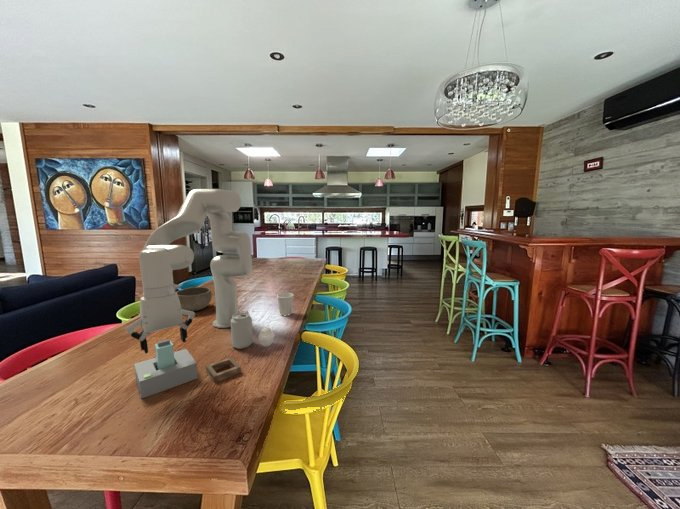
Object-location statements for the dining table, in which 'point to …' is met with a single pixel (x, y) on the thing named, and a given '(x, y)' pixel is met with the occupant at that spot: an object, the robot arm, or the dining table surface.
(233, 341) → the can
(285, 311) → the dixie cup
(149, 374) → the port block
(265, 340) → the white rounded lump
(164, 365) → the plug
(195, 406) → the dining table surface
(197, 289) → the bowl
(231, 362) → the square wooden frame
